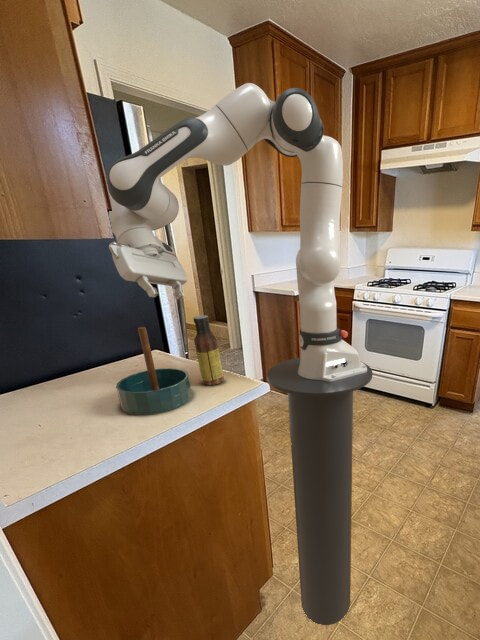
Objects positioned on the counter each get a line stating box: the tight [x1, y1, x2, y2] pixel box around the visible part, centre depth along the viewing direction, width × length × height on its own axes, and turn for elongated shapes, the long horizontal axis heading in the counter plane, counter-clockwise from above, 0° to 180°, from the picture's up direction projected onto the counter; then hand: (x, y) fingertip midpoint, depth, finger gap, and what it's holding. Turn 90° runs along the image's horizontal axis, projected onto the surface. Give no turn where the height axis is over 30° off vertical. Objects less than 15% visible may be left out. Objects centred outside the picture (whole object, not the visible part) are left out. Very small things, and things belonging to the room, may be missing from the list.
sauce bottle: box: [192, 315, 225, 386], centre depth 102 cm, size 7×6×20 cm
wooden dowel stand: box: [137, 326, 159, 391], centre depth 91 cm, size 5×5×19 cm
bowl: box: [115, 367, 193, 416], centre depth 94 cm, size 17×17×6 cm
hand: (168, 297), depth 89 cm, fingers open, 8 cm apart
